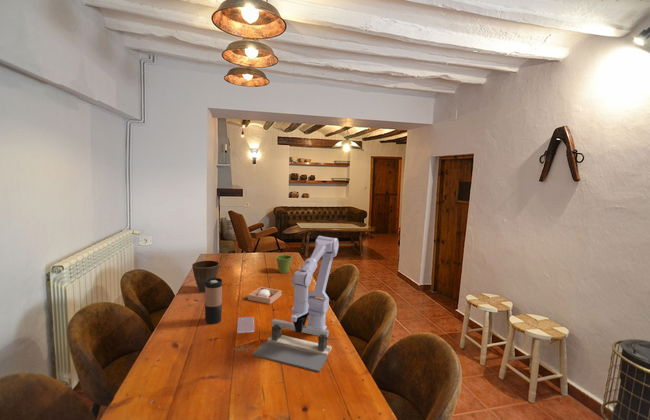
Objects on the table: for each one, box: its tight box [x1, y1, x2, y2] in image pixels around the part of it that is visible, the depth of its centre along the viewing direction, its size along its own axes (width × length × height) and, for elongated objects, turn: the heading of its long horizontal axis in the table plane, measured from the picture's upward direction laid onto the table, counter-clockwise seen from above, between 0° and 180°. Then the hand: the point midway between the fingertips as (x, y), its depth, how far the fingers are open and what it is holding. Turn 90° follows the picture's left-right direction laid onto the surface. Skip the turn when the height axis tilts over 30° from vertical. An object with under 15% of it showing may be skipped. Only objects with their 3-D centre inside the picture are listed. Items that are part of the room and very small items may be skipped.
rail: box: [271, 318, 330, 338], centre depth 136 cm, size 2×25×2 cm, turn 72°
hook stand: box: [266, 325, 333, 357], centre depth 136 cm, size 6×27×7 cm, turn 72°
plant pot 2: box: [275, 254, 293, 274], centre depth 234 cm, size 12×12×11 cm
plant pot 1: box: [191, 260, 220, 293], centre depth 192 cm, size 15×15×16 cm
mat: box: [251, 341, 328, 373], centre depth 128 cm, size 10×28×1 cm, turn 72°
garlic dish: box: [247, 286, 283, 305], centre depth 186 cm, size 14×14×3 cm
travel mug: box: [204, 277, 223, 325], centre depth 153 cm, size 8×8×20 cm
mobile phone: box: [236, 316, 255, 334], centre depth 152 cm, size 8×1×15 cm
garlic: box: [257, 289, 271, 298], centre depth 188 cm, size 8×7×4 cm
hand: (299, 330), depth 136 cm, fingers closed on rail, 2 cm apart
